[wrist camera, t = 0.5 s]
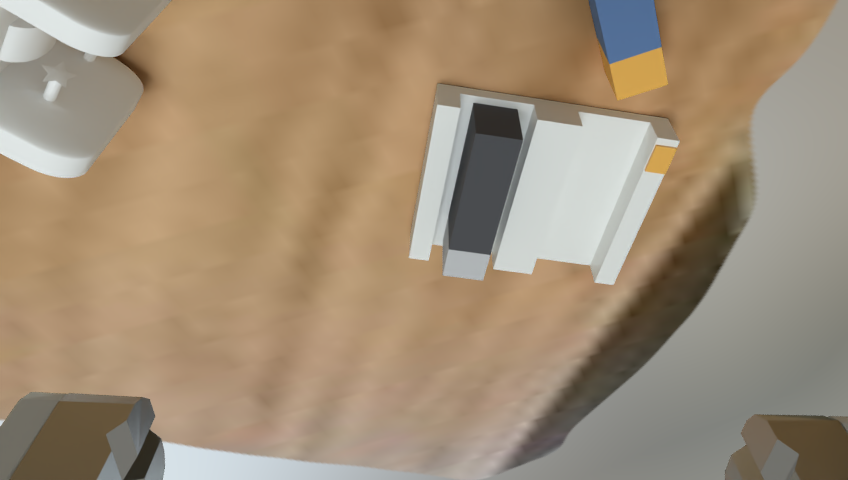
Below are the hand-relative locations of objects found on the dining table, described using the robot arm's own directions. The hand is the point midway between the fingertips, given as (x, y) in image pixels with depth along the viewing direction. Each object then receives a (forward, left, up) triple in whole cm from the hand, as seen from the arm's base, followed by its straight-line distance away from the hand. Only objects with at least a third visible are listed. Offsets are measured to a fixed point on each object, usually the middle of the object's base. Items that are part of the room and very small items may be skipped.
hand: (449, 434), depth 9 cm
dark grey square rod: (+18, +6, -34) cm, 39 cm away
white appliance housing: (+18, +10, -35) cm, 41 cm away
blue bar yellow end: (+3, +11, -35) cm, 37 cm away
